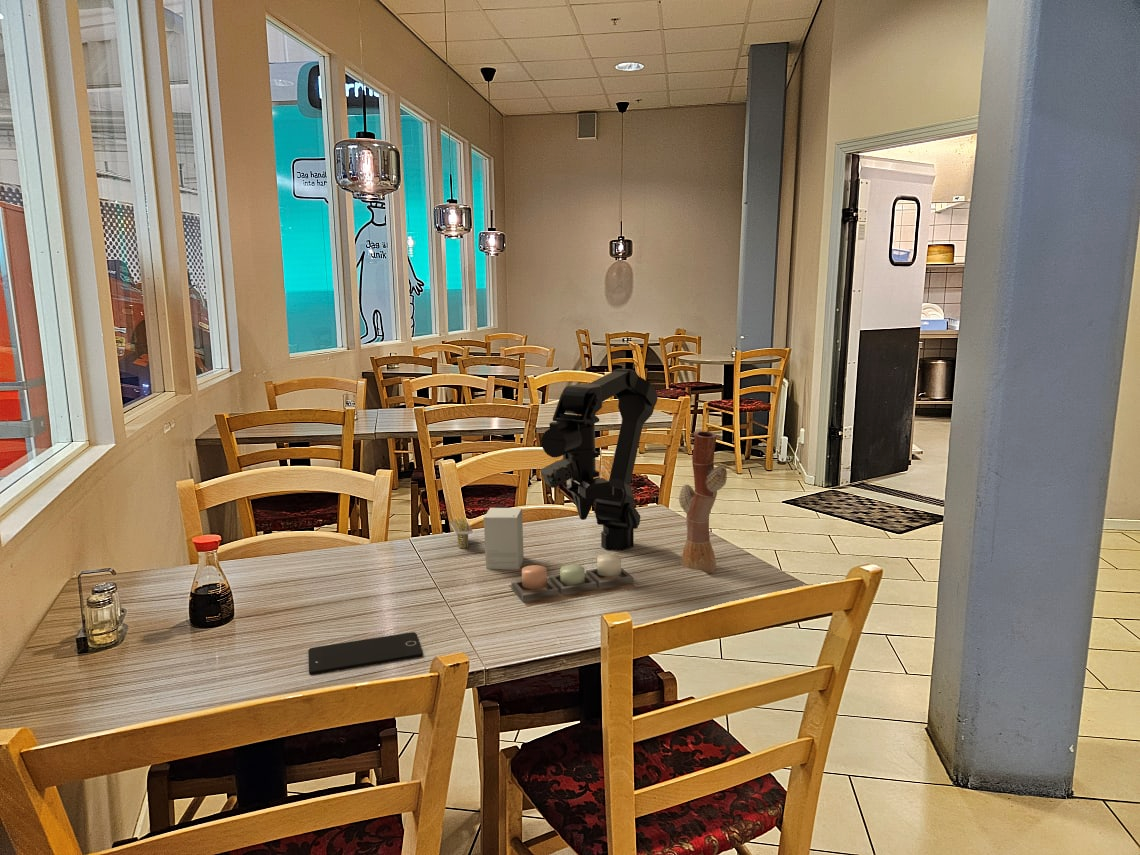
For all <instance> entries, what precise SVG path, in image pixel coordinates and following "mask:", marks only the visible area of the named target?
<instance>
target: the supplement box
mask: <svg viewBox="0 0 1140 855" xmlns="http://www.w3.org/2000/svg"><path fill="white" fill-rule="evenodd" d="M523 522H524V521H523V508H522V507H489V509H488V510H487V511H486V514H485V515H484V516H483V528H484V529H483V531H484V533H483V534H484V535H483V536H484V554H485V556H484V557H485V569H486V570H520V568H521V566H522V565H523V562H524V558H525V557H524V556H525V554H524V553H525V552H524V551H525V550H524V533H523V532H524V530H523V529H524V527H523V526H524V525H523V524H524V523H523Z"/></svg>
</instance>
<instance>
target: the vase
mask: <svg viewBox="0 0 1140 855" xmlns="http://www.w3.org/2000/svg"><path fill="white" fill-rule="evenodd" d="M693 436H694V438H693V439H694V442H693V449H692V457H691V460H692V471H693V481H694V482H693V483H694V489H693V487H692V486H691V485H689V484H688V483H685V484H683V485H682V486H681V490H680V492H679V498H678V501H679V505H680V507H681V508H682V510H683V511H684V512H685V514H686V519H685V520H686V521H685V523H686V541H685V545H684V548H683V551H682V554H681V560H680V561H681V562H680V563H681V566H682V567H685V568H687V569H689V570H690V569H691V570H696V571H702V572H704V573H705V574H707V575H709V574H710V575H711V574H713V573H714V572H715V571H716V568H717V561H716V556H715V551H714V549H713V546H712V542H711V540H710V539H711V538H710V514H711V511H712V509H713V506H714V504H715V502H716V498H717V495H718V491H719V490H721V489H722V488H723V487H725V485H726V483H727V479H728V478H727V474H728V472H727V471H728V470H727V468H726V467H725V466H724V465H718V466H716V467H715V466H714V464H715V462H714V460H715V450H716V449H715V448H716V444H717V436H718V435H717V434H716V433H714V432H711V431H702V430H698V431H697V430H695V431H693Z"/></svg>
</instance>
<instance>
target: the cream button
mask: <svg viewBox="0 0 1140 855" xmlns="http://www.w3.org/2000/svg"><path fill="white" fill-rule="evenodd" d="M596 564H597V565H596V567H597V568H596V569H597V573H598V574H599V575H601V576H606V577H613V576H618V575H620V574H621V568H622V557H621V555H619V554H618V555H617V554H612V553H606V554H605V553H604V554H600V555H598V556H597V557H596Z"/></svg>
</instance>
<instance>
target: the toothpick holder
mask: <svg viewBox="0 0 1140 855" xmlns="http://www.w3.org/2000/svg"><path fill="white" fill-rule="evenodd" d="M454 517H455V518H454V519H455V521H452V522H450V526H451V529H452V530H453V532H454V533H455V534H456V535H457V541H458V546H459V549H463V548H466V549H467V550H468V549H469V535H472V534H474V533H473V532H474V530H473V529H472V527H471V526H470V524H469V522H468V521H467V519H466V518H464V516H461V519H458V518H457V517H456V516H454Z"/></svg>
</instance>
